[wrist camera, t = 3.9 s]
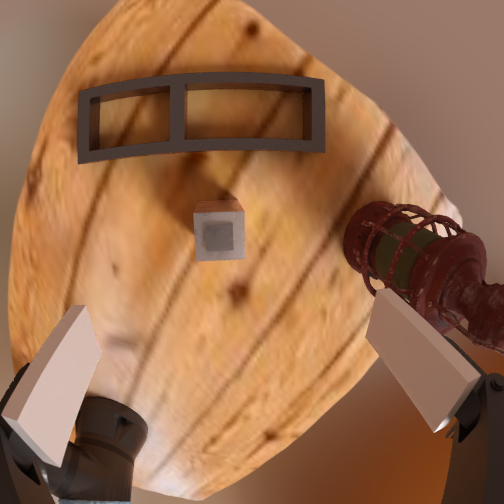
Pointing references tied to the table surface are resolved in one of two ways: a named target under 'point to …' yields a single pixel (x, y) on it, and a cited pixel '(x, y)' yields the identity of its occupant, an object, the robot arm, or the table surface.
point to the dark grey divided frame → (178, 114)
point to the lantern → (428, 269)
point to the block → (219, 230)
